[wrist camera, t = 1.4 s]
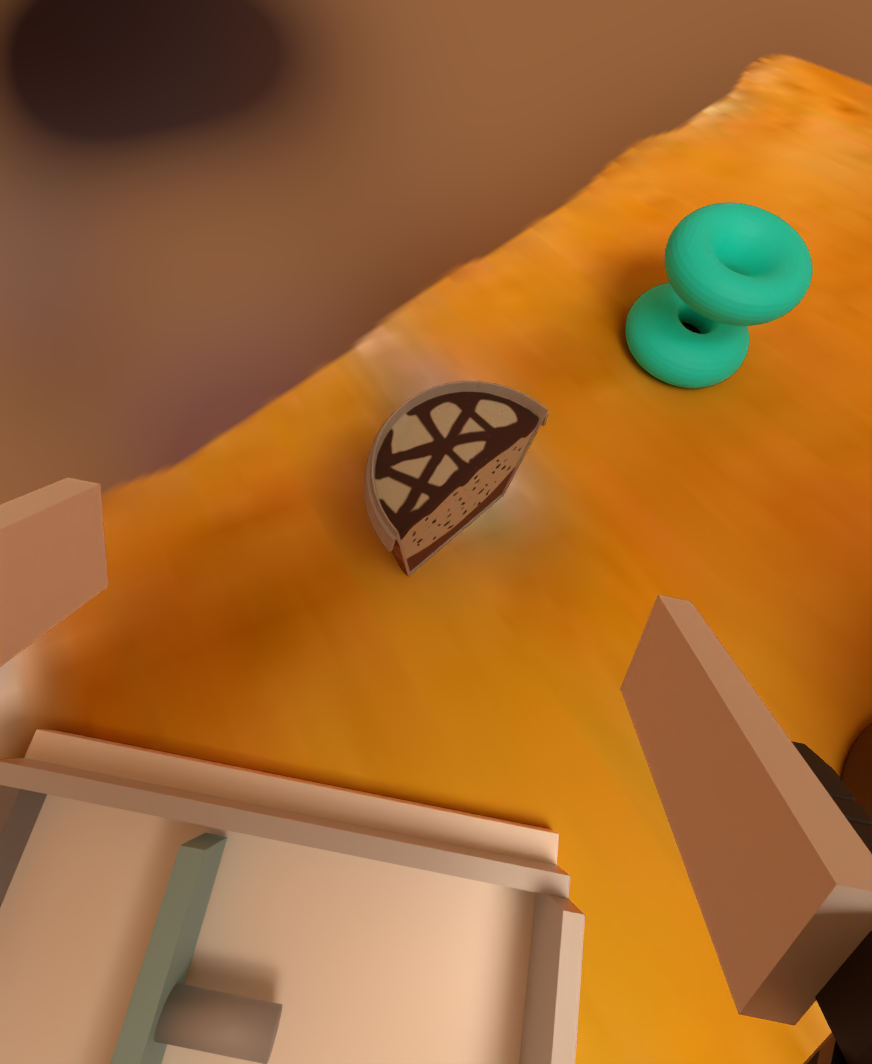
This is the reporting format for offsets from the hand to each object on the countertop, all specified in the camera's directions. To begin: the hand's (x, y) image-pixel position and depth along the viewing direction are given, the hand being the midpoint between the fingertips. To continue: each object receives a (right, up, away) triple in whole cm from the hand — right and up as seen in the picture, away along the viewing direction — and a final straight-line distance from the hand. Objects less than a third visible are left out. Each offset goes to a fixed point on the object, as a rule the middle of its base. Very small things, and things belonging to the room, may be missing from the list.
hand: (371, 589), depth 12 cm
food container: (+1, +3, +26) cm, 26 cm away
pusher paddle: (-9, -22, +13) cm, 27 cm away
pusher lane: (-8, -22, +15) cm, 28 cm away
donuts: (+22, +17, +33) cm, 43 cm away
